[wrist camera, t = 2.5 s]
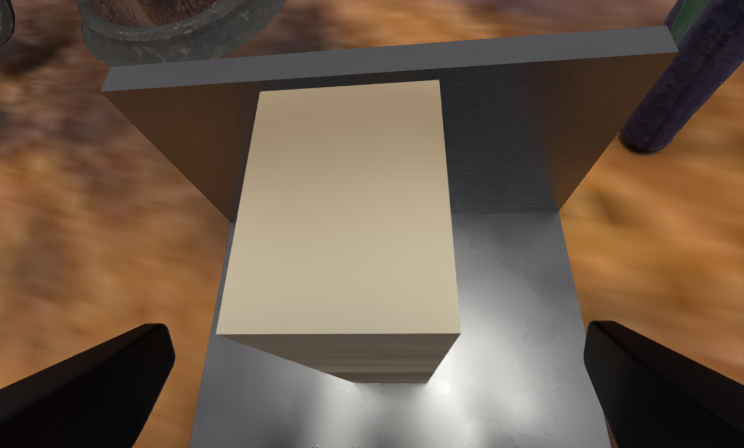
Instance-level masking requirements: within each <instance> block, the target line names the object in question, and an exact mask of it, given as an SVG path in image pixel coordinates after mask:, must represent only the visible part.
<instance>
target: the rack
mask: <svg viewBox="0 0 744 448" xmlns="http://www.w3.org/2000/svg"><path fill="white" fill-rule="evenodd" d="M678 53H679V51H678V49H677V46H676V44H675V42H674V40H673V38H672V36H671V34H670V32H669V30H668V27H667V25H666V26H653V27H640V28H626V29H613V30H599V31H586V32H573V33H559V34H546V35H533V36H519V37H506V38H492V39H479V40H466V41H452V42H439V43H426V44H412V45H399V46H385V47H372V48H359V49H345V50H332V51H319V52H305V53H292V54H278V55H265V56H252V57H238V58H225V59H212V60H198V61H185V62H171V63H158V64H145V65H131V66H118V67H111V68H110V70H109V73H108V75H107V77H106V80H105V82H104V84H103V87H102V89H101V93H102V94H103V95H104V96H105V97H106V98H107V99H108V100H109V101H110V102H111V103H112V104H113V105H114V106H115V107H116V108H117V109H118V110H119V111H120V112H121V113H122V114H123V115H124V116H125V117H126V118H127V119H128V120H129V121H130V122H131V123H132V124H133V125H134V126H135V127H136V128H137V129H138V130H139V131H140V132H141V133H142V134H143V135H144V136H145V137H146V138H147V139H148V140H149V141H150V142H151V143H152V144H153V145H154V146H155V147H156V148H157V149H158V150H159V151H160V152H161V153H162V154H163V155H164V156H165V157H166V158H167V159H168V160H169V161H170V162H171V163H172V164H173V165H174V166H175V167H176V168H177V169H178V170H179V171H180V172H181V173H182V174H183V175H184V176H185V177H186V178H187V179H188V180H189V181H190V182H191V183H192V184H193V185H194V186H195V187H196V188H197V189H198V190H199V191H200V192H201V193H202V194H203V195H204V196H205V197H206V198H207V199H208V200H209V201H210V202H211V203H212V204H213V205H214V206H215V207H216V208H217V209H218V210H219V211H220V212H221V213H222V214H223V215H224V216H225V217H226V218H227V219H228V220H229V221H230V222H231V227H230V233H229V238H228V243H227V248H226V254H225V259H224V264H223V270H222V275H221V280H220V286H219V291H218V296H217V302H216V307H215V312H214V317H213V323H212V328H211V333H210V339H209V344H208V349H207V355H206V360H205V365H204V371H203V376H202V381H201V386H200V392H199V397H198V402H197V408H196V413H195V418H194V424H193V429H192V434H191V440H190V445H189V448H611V445H610V441H609V436H608V432H607V427H606V423H605V418H604V414H603V410H602V408H601V405H600V403H599V400H598V398H597V395H596V393H595V390H594V388H593V385H592V383H591V381H590V378H589V376H588V373H587V371H586V368H585V365H584V361H583V352H584V346H585V339H586V333H585V329H584V324H583V320H582V315H581V311H580V306H579V302H578V298H577V293H576V289H575V284H574V280H573V275H572V271H571V266H570V262H569V257H568V253H567V248H566V244H565V239H564V235H563V230H562V226H561V221H560V217H559V212H558V211H559V210H560V209H561V207H562V206H563V205H564V204H565V202H566V201H567V200H568V198H569V197H570V196H571V194H572V193H573V192H574V190H575V189H576V188H577V186H578V185H579V184H580V182H581V181H582V180H583V178H584V177H585V176H586V174H587V173H588V172H589V170H590V169H591V168H592V166H593V165H594V164H595V163H596V161H597V160H598V159H599V157H600V156H601V155H602V153H603V152H604V151H605V149H606V148H607V147H608V145H609V144H610V143H611V141H612V140H613V139H614V137H615V136H616V135H617V133H618V132H619V131H620V129H621V128H622V127H623V125H624V124H625V123H626V122H627V120H628V119H629V118H630V116H631V115H632V114H633V112H634V111H635V110H636V108H637V107H638V106H639V104H640V103H641V102H642V100H643V99H644V98H645V96H646V95H647V94H648V92H649V91H650V90H651V88H652V87H653V86H654V84H655V83H656V82H657V81H658V79H659V78H660V77H661V75H662V74H663V73H664V71H665V70H666V69H667V67H668V66H669V65H670V63H671V62H672V61H673V59H674V58H675V57H676V55H677V54H678ZM430 80H439V84H440V96H441V107H442V119H443V130H444V142H445V153H446V165H447V177H448V188H449V200H450V211H451V223H452V234H453V246H454V257H455V269H456V280H457V292H458V303H459V315H460V326H461V334H460V336H459V337H458V339H457V340H456V341H455V343H454V344H453V346H452V347H451V349H450V350H449V352H448V353H447V355H446V356H445V358H444V359H443V361H442V362H441V364H440V365H439V366H438V368H437V369H436V371H435V372H434V374H433V375H432V377H431V378H430V380H429V381H428V383H352V382H349V381H346V380H344V379H341V378H338V377H335V376H332V375H329V374H327V373H324V372H321V371H318V370H315V369H312V368H310V367H307V366H304V365H301V364H298V363H295V362H293V361H290V360H287V359H284V358H281V357H278V356H276V355H273V354H270V353H267V352H264V351H261V350H259V349H256V348H253V347H250V346H247V345H244V344H242V343H239V342H236V341H233V340H230V339H227V338H225V337H222V336H219V335H216V331H217V325H218V320H219V314H220V309H221V303H222V298H223V292H224V287H225V281H226V276H227V270H228V265H229V259H230V254H231V248H232V243H233V237H234V232H235V226H236V221H237V215H238V210H239V204H240V199H241V194H242V188H243V183H244V177H245V172H246V166H247V161H248V155H249V150H250V144H251V139H252V133H253V128H254V122H255V117H256V111H257V106H258V100H259V95H260V92H263V91H278V90H294V89H309V88H324V87H339V86H354V85H370V84H385V83H400V82H415V81H430Z"/></svg>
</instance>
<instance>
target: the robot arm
mask: <svg viewBox="0 0 744 448" xmlns="http://www.w3.org/2000/svg"><path fill="white" fill-rule="evenodd" d="M583 361H584V365H585V368H586V371H587V373H588V376H589V378H590V381H591V383H592V385H593V388H594V390H595V393H596V395H597V398H598V400H599V403H600V405H601V408H602V410H603V413H604V415H605V418H606V420H607V423H608V425H609V427H610V430H611V432H612V434H613V437H614V439H615V441H616V443H617V445H618V447H619V448H744V385H742V384H740V383H738V382H736V381H734V380H732V379H730V378H728V377H726V376H724V375H722V374H720V373H718V372H716V371H714V370H712V369H710V368H708V367H706V366H704V365H702V364H700V363H698V362H696V361H694V360H692V359H690V358H688V357H686V356H684V355H681V354H679V353H677V352H675V351H673V350H671V349H669V348H667V347H665V346H663V345H661V344H659V343H657V342H655V341H653V340H651V339H649V338H647V337H645V336H643V335H641V334H639V333H637V332H635V331H633V330H631V329H629V328H627V327H625V326H623V325H621V324H619V323H617V322H614V321H610V320H604V321H591V322H590V323H589V325H588V327H587V333H586V339H585V346H584V352H583ZM174 363H175V351H174V347H173V344H172V340H171V337H170V334H169V330H168V328H167V326H166V325H164V324H162V323H149V324H144V325H141V326H139V327H137V328H135V329H132V330H130V331H128V332H126V333H123V334H121V335H119V336H117V337H115V338H112V339H110V340H108V341H106V342H104V343H101V344H99V345H97V346H95V347H92V348H90V349H88V350H86V351H84V352H81V353H79V354H77V355H75V356H73V357H70V358H68V359H66V360H64V361H62V362H59V363H57V364H55V365H53V366H50V367H48V368H46V369H44V370H42V371H39V372H37V373H35V374H33V375H31V376H28V377H26V378H24V379H22V380H20V381H17V382H15V383H13V384H11V385H8V386H6V387H4V388H2V389H0V448H132V447H133V445H134V443H135V442H136V440H137V438H138V436H139V435H140V433H141V431H142V429H143V427H144V425H145V423H146V421H147V419H148V417H149V415H150V413H151V411H152V409H153V407H154V405H155V403H156V401H157V399H158V397H159V395H160V393H161V391H162V389H163V386H164V384H165V382H166V380H167V378H168V376H169V374H170V372H171V370H172V368H173V366H174Z"/></svg>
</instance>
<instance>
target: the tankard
mask: <svg viewBox="0 0 744 448" xmlns="http://www.w3.org/2000/svg"><path fill="white" fill-rule="evenodd" d="M285 1H286V0H78V7H79V11H80V15H81V17H82V26H81V31H82V36H83V40H84V43H85V44H86V46H87V48H88V49H89V51H90V52H91V54H93V55H94V56H95V57H96V58H98V59H99V60H100V61H101V62H103V63H105V64H107V65H110V66H112V67H118V66H131V65H145V64H158V63H171V62H185V61H198V60H212V59H216V58H219V57H221V56H223V55H226V54H228V53H230V52H231V51H233V50H235V49H236V48H238V47H240V46H242V45H243V44H245V43H247V42H248V41H249V40H251V39H252V38H253V37H254V36H256V35H257V34H258V33H259V32H261V31H262V30H263V29H264V28H265V27H266V26H267V25H268V24H269V23H270V22H271V21H272V20H273V19H274V18H275V16H276V15H277V14H278V13H279V11H280V9H281V8H282V6H283V4H284V3H285ZM14 28H15V14H14V11H13V7H12V4H11V0H0V46H2V45H3V44H5V43H7V42H8V40H9V39H10V37H11V36H12V34H13V33H14Z"/></svg>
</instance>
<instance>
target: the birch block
mask: <svg viewBox="0 0 744 448" xmlns="http://www.w3.org/2000/svg"><path fill="white" fill-rule="evenodd" d="M460 334H461V326H460V315H459V303H458V292H457V280H456V269H455V257H454V246H453V234H452V223H451V211H450V200H449V188H448V177H447V165H446V153H445V142H444V130H443V119H442V107H441V96H440V84H439V80H430V81H415V82H400V83H385V84H370V85H354V86H339V87H324V88H309V89H294V90H278V91H263V92H260V95H259V100H258V106H257V111H256V117H255V122H254V128H253V133H252V139H251V144H250V150H249V155H248V161H247V166H246V172H245V177H244V183H243V188H242V194H241V199H240V204H239V210H238V215H237V221H236V226H235V232H234V237H233V243H232V248H231V254H230V259H229V265H228V270H227V276H226V281H225V287H224V292H223V298H222V303H221V309H220V314H219V320H218V325H217V331H216V335H219V336H222V337H225V338H227V339H230V340H233V341H236V342H239V343H242V344H244V345H247V346H250V347H253V348H256V349H259V350H261V351H264V352H267V353H270V354H273V355H276V356H278V357H281V358H284V359H287V360H290V361H293V362H295V363H298V364H301V365H304V366H307V367H310V368H312V369H315V370H318V371H321V372H324V373H327V374H329V375H332V376H335V377H338V378H341V379H344V380H346V381H349V382H352V383H428V381H429V380H430V378H431V377H432V375H433V374H434V372H435V371H436V369H437V368H438V366H439V365H440V364H441V362H442V361H443V359H444V358H445V356H446V355H447V353H448V352H449V350H450V349H451V347H452V346H453V344H454V343H455V341H456V340H457V339H458V337H459V336H460Z"/></svg>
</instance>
